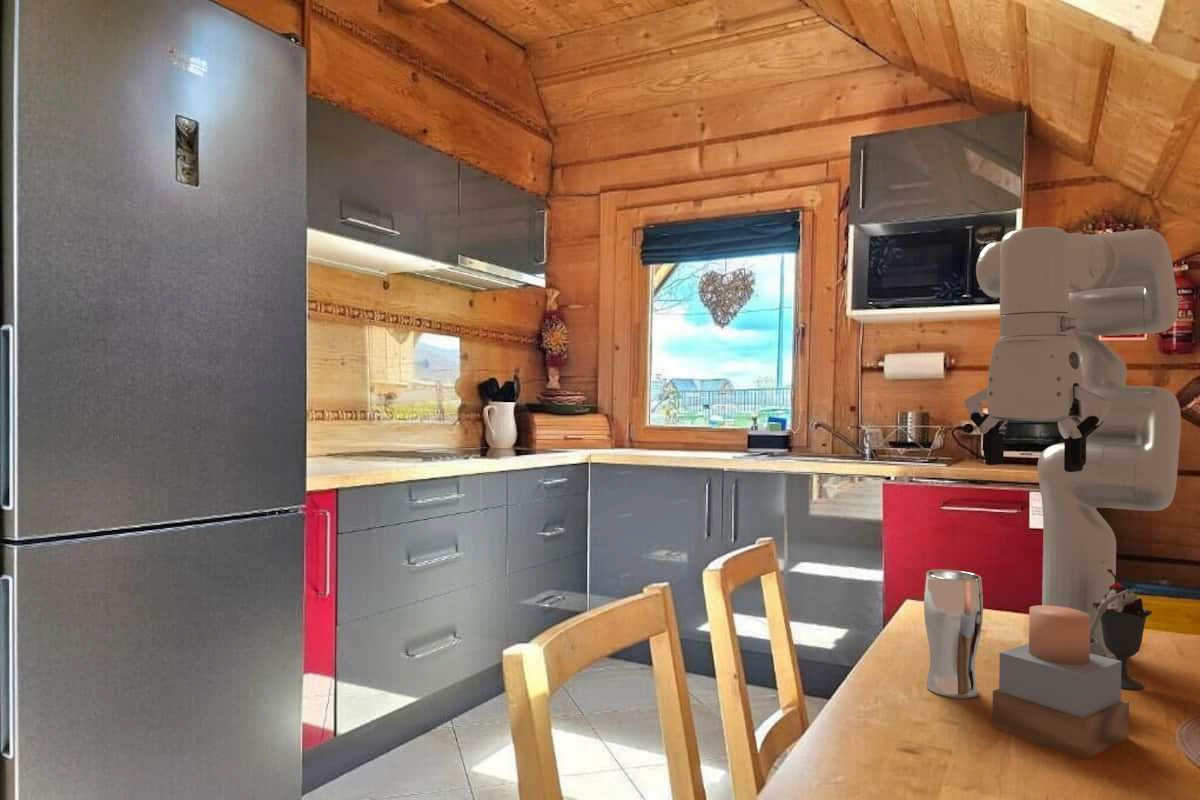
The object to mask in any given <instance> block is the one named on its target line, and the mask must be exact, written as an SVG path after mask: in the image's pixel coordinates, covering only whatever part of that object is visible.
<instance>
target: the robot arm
mask: <svg viewBox="0 0 1200 800" xmlns="http://www.w3.org/2000/svg"><path fill="white" fill-rule="evenodd" d="M1171 255H1172V254H1171V252H1170V248H1169V246H1168V243H1167V241H1166V240H1165V238H1164V236H1163V235H1162V234H1161V233H1159V232H1158V231H1156V230H1154V229H1149V228H1144V229H1134V230H1124V231H1115V232H1113V231H1112V232H1106V233H1105V232H1104V233H1095V234H1087V233H1086V234H1084V233H1078V232H1077V233H1076V232H1075V233H1068V232H1066V231H1065V230H1064V229H1062V228H1059V227H1056V226H1055V227H1054V226H1035V227H1027V228H1026V227H1025V228H1021V229H1020V228H1019V229H1016V230H1012V231H1010V232H1008V233H1007V234H1005V235H1004V236H1003V237H1002V239H1001V241H994V242H991V243H989V244H987V245H986V246H985V247H984V248H983V249H982V250H981V252H980V253H979V255H978V257H977V260H976V261H977V262H976V266H975V274H976V280H977V283H978V285H979V287H980V289H981V291H982V292H983V294H986V295H987V296H989V298H999V341H995V342H994V345H993V348H992V352H991V356H990V363H989V368H988V377H987V387H986V388H984V389H982V390H981V391H979V392H977V393H974V394H973V395H971V396H969V397H967V398H965V399H964V401H963V403H964V406H965V407H966V410H967V412H968V414H969V415H970V420H971V421H972V422H973V424H975V425H976V426H977V427H978V430H979V433H981V435H983V457H984V463H985V466H996V465H997V466H998V465H1002V464H1003V463H1004V452H1005V451H1004V449H1005V448H1004V446H1005V445H1004V444H1005V443H1004V441H1005V439H1004V434H1003V432H1000V430H1001V429H1002V428H1003V427H1004V425H1005V424H1006V423H1007V422H1008V421H1019V422H1020V421H1021V422H1023V421H1024V422H1025V421H1026V422H1049V423H1052V422H1057V426H1058V431H1059V433H1060V435H1061V437H1062V438H1063V439H1064V441H1063V442H1061V443H1060V442H1059V443H1056V444H1055V443H1054V444H1053V445H1050V446H1048V447H1047V448H1045V449H1044V450H1042V452H1041V453H1040V455H1039V457H1038V461H1037V477H1038V478H1037V479H1038V483H1039V490H1040V497H1041V506H1042V518H1043V519H1042V521H1043V523H1042V524H1043V526H1042V527H1043V528H1042V529H1043V531H1042V532H1043V533H1042V535H1043V536H1042V537H1043V538H1042V539H1043V541H1042V587H1041V588H1042V593H1041V594H1042V595H1041V597H1042V598H1041V601H1042V602H1041V603H1042V604H1041V605H1050V606H1060V607H1066V608H1071V609H1076V610H1079V611H1083V612H1085V613H1087V614H1089V615H1090V628H1091V625H1092V623H1093V621H1094V619H1095V617H1096V614H1097V612H1098V610H1097V609H1096V608H1095V607H1093V603H1101V602H1102V599H1103V597H1104V596H1105V595H1106V594H1107V593H1108V592H1109V591H1110V589H1109V587H1110V586H1111V585H1113V584H1114V583H1115V579H1114V576H1113V575H1114V574H1115V576H1116V577H1117V575H1116V573H1117V569H1116V568H1117V539H1116V536H1115V532H1114V530H1113V529H1112V527H1111V526H1110V524H1109V523H1108V522H1107V520H1106V519H1104V518H1103V516H1102V515H1101V514H1100V512H1099V511H1098V510H1097V509H1099V508H1102V509H1105V508H1106V509H1108V508H1109V509H1121V510H1129V511H1130V510H1131V511H1145V512H1157V511H1163V510H1164V509H1167V508H1168V507H1169V506H1170V505H1171V504H1172V502H1173V500H1174V498H1175V494H1176V489H1177V483H1178V482H1177V481H1178V480H1177V479H1178V469H1179V468H1178V467H1179V466H1178V465H1179V454H1180V444H1181V443H1180V441H1181V430H1182V427H1181V424H1182V421H1181V420H1182V416H1181V407H1180V404H1179V401H1178V399H1177V396H1176V395H1175V394H1174V393H1173V391H1171V390H1169V389H1167V388H1164V387H1161V386H1156V385H1155V386H1154V385H1153V386H1152V385H1126V383H1127V382H1126V381H1127V374H1128V369H1127V365H1126V363H1125V361H1124V360H1123V359H1122V357H1121V356H1119V354H1118V353H1116V351H1114V349H1113V348H1112V347H1110V346H1108V345H1107V344H1106V343H1104V342H1103V341H1101V339H1100V340H1099V339H1098V338H1097V336H1098V337H1099V336H1123V335H1125V336H1126V335H1127V336H1128V335H1129V336H1130V335H1148V334H1149V335H1150V334H1153V335H1154V334H1159V333H1164V332H1166V331H1168V330H1170V329H1171V328H1172V327H1173V326H1174V324H1175V323H1176V321H1177V318H1178V313H1179V298H1178V292H1177V291H1178V290H1177V283H1176V279H1175V272H1174V271H1175V270H1174V265H1173V261H1172V260H1173V259H1172V256H1171ZM985 402H986V409H987V414H988V416H987V414H986V413H985V412H983V410H982V404H983V403H985ZM1107 569H1112V572H1113V573H1114V574H1113V573H1112V574H1113V575H1112V574H1111V573H1110V572H1108V571H1107ZM1092 638H1094V639H1096V640H1097V641H1098V642H1099V644H1100V645H1101V647H1102V648H1103V650H1104V651H1105V657H1107V658H1111V659H1115V660H1117V658H1116V657H1115V655H1114V654H1112V653H1111V652H1110V651H1109V650H1108V649H1107V647H1106V646H1105V643H1104V639H1103V634H1102V626H1101V619H1100V621H1099V623H1098V625H1097V628H1096V630H1095V632H1094V634H1093V636H1092Z"/></svg>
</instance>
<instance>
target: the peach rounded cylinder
mask: <svg viewBox="0 0 1200 800" xmlns="http://www.w3.org/2000/svg"><path fill="white" fill-rule="evenodd" d="M1028 611H1029V612H1028V613H1029V614H1028V617H1029V620H1028V644H1029V653H1030V654H1031V655H1032V656H1034V657H1036V658H1039V659H1042V660H1045V661H1049V662H1054V663H1060V664H1069V665H1082V664H1087V663H1089V659H1090V615H1089V614H1087V613H1085V612H1083V611H1079V610H1076V609H1071V608H1066V607H1060V606H1050V605H1042V604H1041V605H1038V604H1037V605H1032V606H1030V607H1029V610H1028Z"/></svg>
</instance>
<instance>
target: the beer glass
mask: <svg viewBox="0 0 1200 800" xmlns="http://www.w3.org/2000/svg"><path fill="white" fill-rule="evenodd" d="M925 574H926V575H925V577H926V579H925V587H924V598H923V600H924V601H923V611H924V613H923V615H924V623H925V631H926V637H927V642H928V643H927V644H928V648H929V659H930V660H929V669H928V675H927V678H926V685H925V686H926V688H927V689H928V690H929V691H930V692H932V693H934V694H936V695H939V696H942V697H946V698H951V699H958V700H959V699H963V700H964V699H966V700H967V699H973V698H975V697H977V696H978V693H979V692H978V691H979V690H978V684H977V683H978V682H977V678H976V672H975V671H976V668H975V667H976V657H977V651H978V647H979V641H980V637H981V632H982V625H983V619H984V618H983V615H984V600H983V599H984V598H983V586H982V585H983V584H982V583H983V582H982V576H981V575H979V574H976V573H973V572H969V571H963V570H955V569H931V570H928V571H926V573H925Z"/></svg>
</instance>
